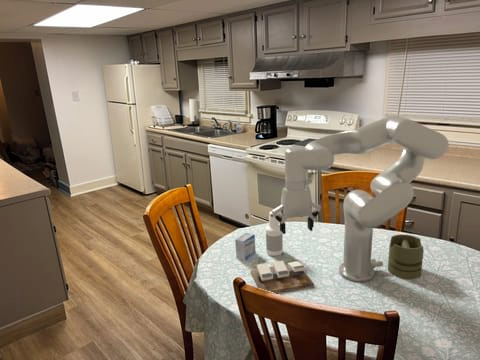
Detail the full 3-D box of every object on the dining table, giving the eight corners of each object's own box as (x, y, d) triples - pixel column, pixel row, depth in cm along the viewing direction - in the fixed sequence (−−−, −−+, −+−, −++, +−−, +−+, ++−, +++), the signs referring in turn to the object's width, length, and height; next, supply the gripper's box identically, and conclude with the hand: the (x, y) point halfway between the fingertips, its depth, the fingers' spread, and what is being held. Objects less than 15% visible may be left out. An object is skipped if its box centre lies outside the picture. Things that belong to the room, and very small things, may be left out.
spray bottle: (263, 254, 152) (262, 214, 147) (270, 247, 158) (269, 208, 153) (279, 257, 149) (278, 216, 144) (285, 250, 155) (284, 210, 149)
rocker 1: (267, 265, 135) (267, 262, 135) (272, 278, 129) (273, 276, 129) (256, 267, 134) (256, 264, 134) (262, 280, 128) (262, 277, 128)
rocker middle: (282, 263, 136) (282, 260, 136) (289, 276, 130) (289, 273, 130) (272, 264, 136) (272, 261, 135) (278, 278, 130) (278, 275, 129)
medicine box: (244, 261, 148) (243, 241, 145) (236, 258, 150) (234, 239, 148) (256, 253, 154) (255, 234, 151) (247, 250, 156) (246, 231, 154)
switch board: (297, 265, 143) (297, 257, 142) (313, 286, 129) (313, 278, 128) (250, 272, 139) (250, 265, 138) (261, 295, 125) (261, 287, 124)
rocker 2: (298, 264, 138) (297, 260, 138) (305, 270, 131) (304, 266, 131) (288, 266, 137) (287, 262, 137) (294, 272, 130) (294, 268, 130)
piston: (391, 247, 128) (388, 233, 138) (389, 277, 132) (386, 261, 142) (427, 250, 125) (421, 235, 135) (423, 280, 129) (418, 264, 139)
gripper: (317, 178, 128) (316, 223, 133) (268, 183, 125) (269, 229, 130) (325, 185, 120) (324, 232, 126) (274, 190, 118) (275, 238, 123)
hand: (296, 230), depth 128 cm, fingers open, 9 cm apart
